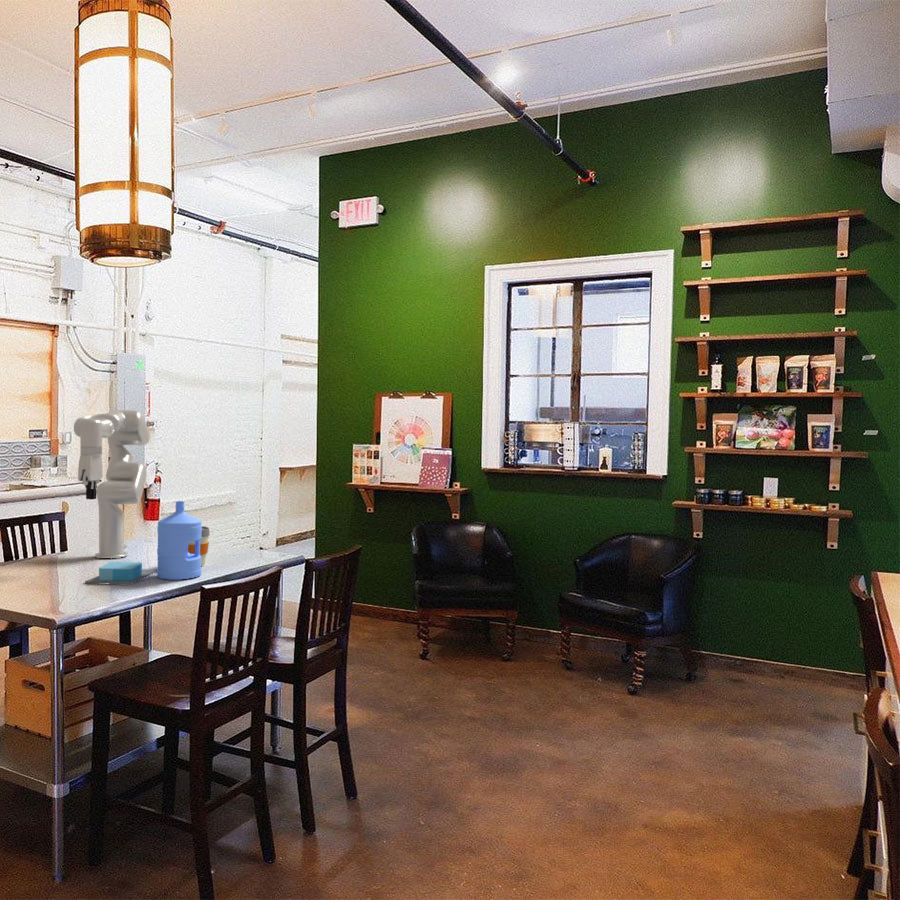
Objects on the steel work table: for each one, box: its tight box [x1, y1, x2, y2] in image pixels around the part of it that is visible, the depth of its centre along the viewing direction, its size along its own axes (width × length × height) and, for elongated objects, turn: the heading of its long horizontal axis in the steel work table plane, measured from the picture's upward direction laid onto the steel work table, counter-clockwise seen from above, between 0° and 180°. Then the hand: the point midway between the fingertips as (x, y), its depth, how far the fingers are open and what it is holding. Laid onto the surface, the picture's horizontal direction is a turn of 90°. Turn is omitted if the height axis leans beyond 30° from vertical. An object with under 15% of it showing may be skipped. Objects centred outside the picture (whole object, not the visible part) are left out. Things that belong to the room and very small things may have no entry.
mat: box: [84, 569, 158, 585], centre depth 281 cm, size 22×16×1 cm
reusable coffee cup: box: [188, 525, 210, 567], centre depth 305 cm, size 13×13×15 cm
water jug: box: [156, 500, 203, 581], centre depth 285 cm, size 16×16×28 cm
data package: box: [98, 561, 143, 581], centre depth 278 cm, size 12×4×12 cm
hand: (91, 498), depth 294 cm, fingers closed
